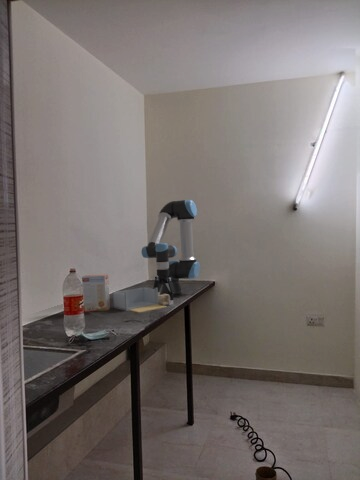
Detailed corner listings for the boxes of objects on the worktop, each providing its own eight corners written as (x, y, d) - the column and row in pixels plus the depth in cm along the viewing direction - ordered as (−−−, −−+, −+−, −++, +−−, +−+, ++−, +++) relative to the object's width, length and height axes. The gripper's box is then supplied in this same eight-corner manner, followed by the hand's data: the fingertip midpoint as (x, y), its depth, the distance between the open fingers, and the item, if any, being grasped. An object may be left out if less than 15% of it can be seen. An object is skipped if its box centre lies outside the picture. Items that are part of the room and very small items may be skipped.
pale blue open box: (144, 303, 242) (143, 285, 242) (158, 306, 231) (157, 287, 231) (113, 309, 229) (112, 290, 228) (126, 312, 217) (125, 293, 217)
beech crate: (165, 303, 239) (164, 293, 239) (172, 304, 234) (171, 294, 234) (157, 305, 235) (156, 295, 235) (163, 306, 230) (163, 296, 230)
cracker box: (110, 310, 227) (108, 274, 226) (106, 312, 221) (104, 275, 220) (88, 310, 230) (86, 274, 229) (83, 312, 224) (81, 276, 223)
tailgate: (157, 304, 230) (166, 306, 222) (157, 306, 230) (166, 308, 222) (129, 309, 218) (138, 311, 210) (129, 312, 218) (139, 314, 210)
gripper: (146, 268, 241) (147, 303, 242) (170, 270, 222) (172, 307, 223) (155, 267, 246) (157, 301, 247) (180, 269, 227) (182, 305, 228)
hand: (164, 304), depth 235 cm, fingers open, 12 cm apart
